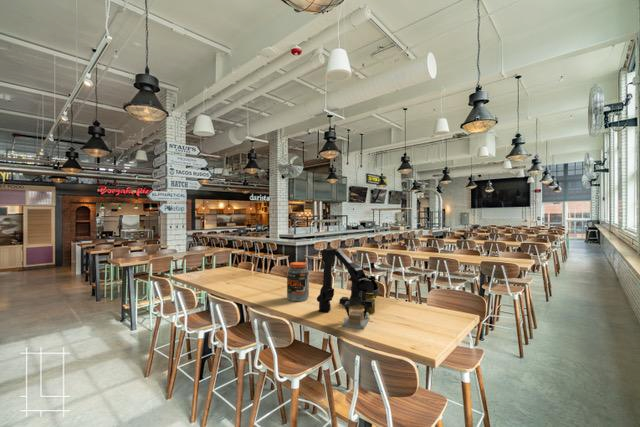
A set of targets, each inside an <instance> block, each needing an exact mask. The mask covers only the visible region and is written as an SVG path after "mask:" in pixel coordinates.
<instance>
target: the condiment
mask: <svg viewBox="0 0 640 427" xmlns="http://www.w3.org/2000/svg"><path fill="white" fill-rule="evenodd" d="M367 299H369V300H373V301H374V305H373V307H370V308H369V309H368V311H367V313H369V316H370V315H375V314H378V312H377V311H375V310H376V298H374V293H366V297H365V301H366V300H367ZM362 311H363V315H364V310H362Z"/></svg>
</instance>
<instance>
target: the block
mask: <svg viewBox="0 0 640 427" xmlns="http://www.w3.org/2000/svg"><path fill="white" fill-rule="evenodd" d="M351 311H352V312H351V313H350V312H349V316H348V317H349V323H351V324H359V325H360V323H361V320H363V317H364V314H363V311H364V310H360V309H359V310H358V309H352V310H351Z"/></svg>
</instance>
